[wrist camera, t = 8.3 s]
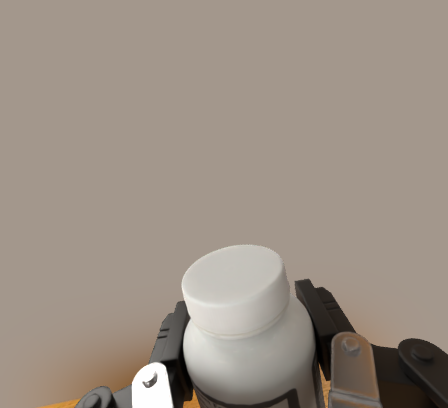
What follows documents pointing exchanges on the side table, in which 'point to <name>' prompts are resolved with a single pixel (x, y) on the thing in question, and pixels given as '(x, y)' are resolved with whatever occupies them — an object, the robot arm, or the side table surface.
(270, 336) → the pill bottle
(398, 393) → the robot arm
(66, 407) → the side table surface
